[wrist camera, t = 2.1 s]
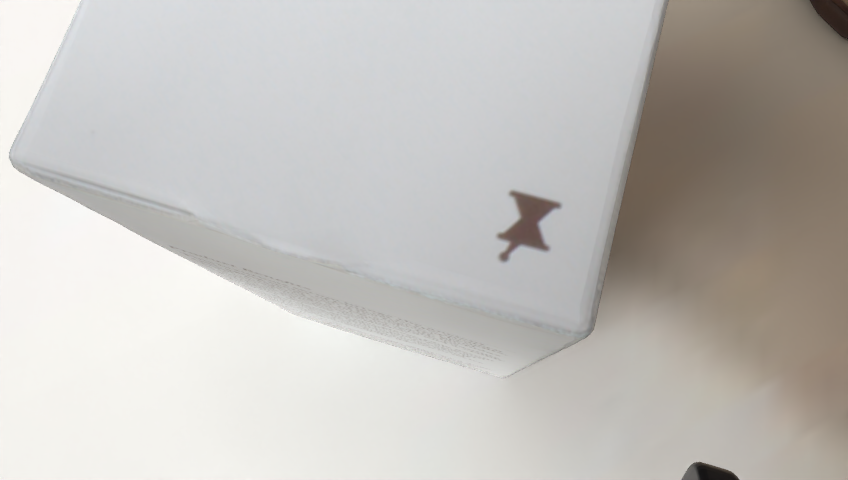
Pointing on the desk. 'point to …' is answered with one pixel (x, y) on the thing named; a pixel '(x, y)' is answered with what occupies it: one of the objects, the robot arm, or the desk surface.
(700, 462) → the robot arm
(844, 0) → the dark brown curved piece
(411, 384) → the desk surface
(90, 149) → the skincare box
